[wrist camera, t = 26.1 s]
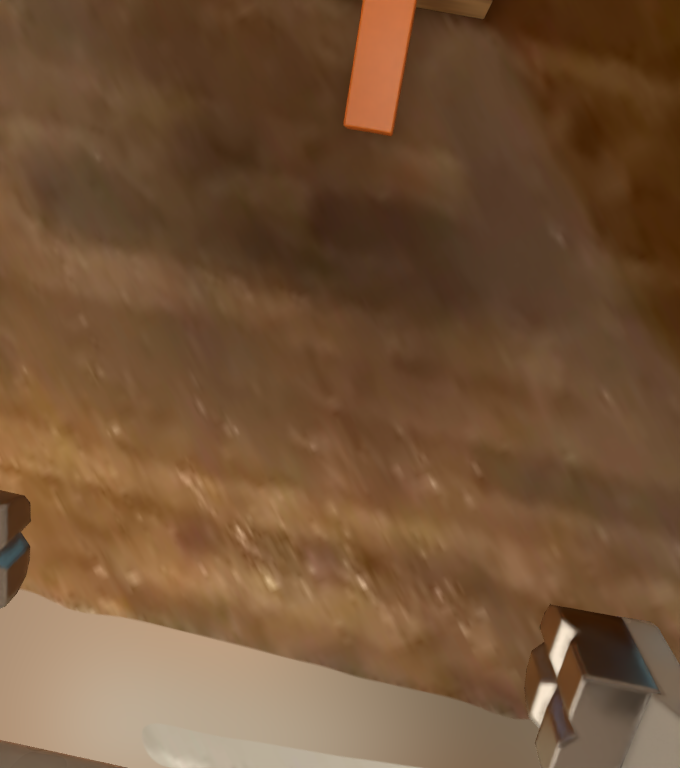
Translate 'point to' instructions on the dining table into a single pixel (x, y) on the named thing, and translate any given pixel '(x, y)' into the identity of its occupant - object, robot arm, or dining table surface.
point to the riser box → (457, 7)
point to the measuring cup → (379, 65)
